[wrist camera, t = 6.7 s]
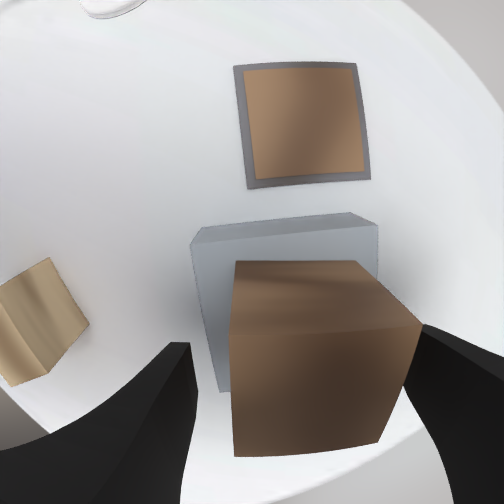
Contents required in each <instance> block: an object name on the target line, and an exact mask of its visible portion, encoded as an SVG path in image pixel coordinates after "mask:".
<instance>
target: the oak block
mask: <svg viewBox="0 0 504 504" xmlns="http://www.w3.org/2000/svg"><path fill="white" fill-rule="evenodd" d="M88 325H89V322H88V321H87V319H86V318H85V316H84V315H83V313H82V312H81V310H80V309H79V307H78V306H77V304H76V302H75V301H74V299H73V298H72V296H71V294H70V293H69V291H68V289H67V288H66V286H65V284H64V283H63V281H62V279H61V277H60V276H59V274H58V272H57V270H56V269H55V267H54V265H53V263H52V261H51V259H50V258H47V259H45V260H43V261H42V262H40V263H38V264H36V265H35V266H33V267H31V268H29V269H28V270H26V271H24V272H23V273H21V274H19V275H18V276H16V277H14V278H13V279H11V280H9V281H8V282H6V283H5V284H3V285H1V286H0V373H1V375H2V376H3V378H4V379H5V380H6V381H7V383H8V384H9V385H10V387H13V386H16V385H19V384H22V383H24V382H27V381H30V380H32V379H35V378H38V377H40V376H43V375H46V374H48V373H49V372H50V371H51V369H52V368H53V367H54V366H55V364H56V363H57V362H58V361H59V359H60V358H61V357H62V356H63V355H64V353H65V352H66V351H67V350H68V349H69V347H70V346H71V345H72V344H73V343H74V341H75V340H76V339H77V338H78V337H79V335H80V334H81V333H82V332H83V331H84V330H85V328H86V327H87V326H88Z"/></svg>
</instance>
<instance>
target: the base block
mask: <svg viewBox="0 0 504 504" xmlns="http://www.w3.org/2000/svg"><path fill="white" fill-rule="evenodd" d="M190 249H191V255H192V261H193V267H194V272H195V278H196V284H197V289H198V294H199V300H200V305H201V310H202V315H203V320H204V325H205V330H206V335H207V339H208V344H209V349H210V353H211V358H212V362H213V367H214V371H215V375H216V379H217V384H218V388H219V392H231V388H230V364H229V337H228V335H229V324H230V314H231V303H232V293H233V283H234V273H235V263H236V260H270V261H318V260H356V261H357V262H358V263H359V264H360V265H361V266H362V267H363V268H364V269H366V270H367V271H368V272H369V273H370V274H371V275H372V276H373V277H374V278H375V279H376V280H377V262H378V225H377V224H375V223H372V222H370V221H368V220H366V219H364V218H362V217H360V216H357V215H355V214H353V213H351V212H349V213H337V214H326V215H315V216H304V217H293V218H283V219H273V220H264V221H255V222H245V223H236V224H228V225H219V226H210V227H202V228H201V230H200V231H199V232H198V234H197V235H196V237H195V238H194V239H193V241H192V242H191V244H190Z"/></svg>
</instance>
